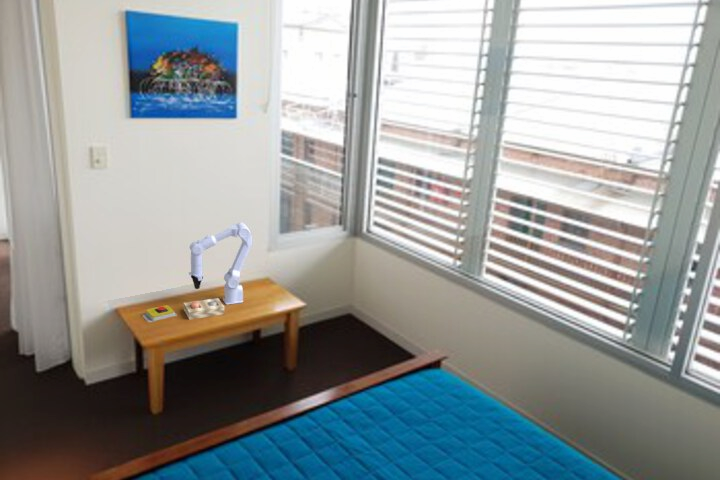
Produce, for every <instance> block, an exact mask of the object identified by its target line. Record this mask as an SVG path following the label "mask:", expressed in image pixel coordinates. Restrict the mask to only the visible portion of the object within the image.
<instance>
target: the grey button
mask: <svg viewBox="0 0 720 480" xmlns="http://www.w3.org/2000/svg"><path fill="white" fill-rule="evenodd" d="M215 305H217V302H215V301H211V302H209V306H215Z"/></svg>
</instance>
